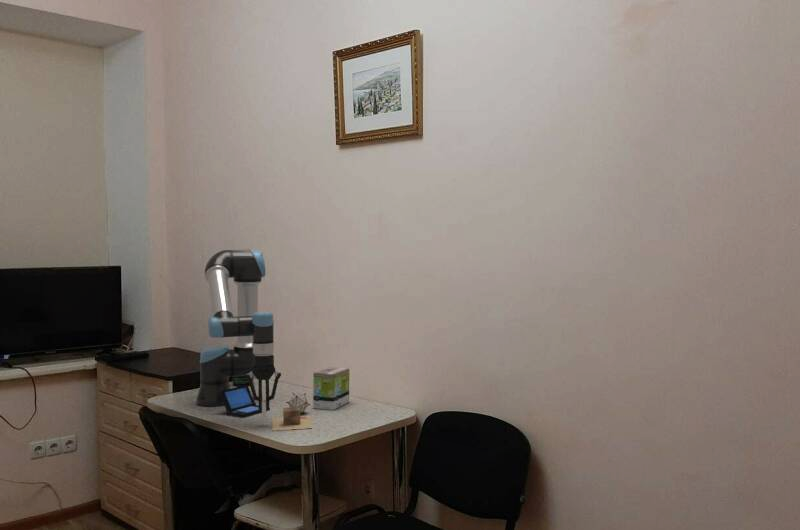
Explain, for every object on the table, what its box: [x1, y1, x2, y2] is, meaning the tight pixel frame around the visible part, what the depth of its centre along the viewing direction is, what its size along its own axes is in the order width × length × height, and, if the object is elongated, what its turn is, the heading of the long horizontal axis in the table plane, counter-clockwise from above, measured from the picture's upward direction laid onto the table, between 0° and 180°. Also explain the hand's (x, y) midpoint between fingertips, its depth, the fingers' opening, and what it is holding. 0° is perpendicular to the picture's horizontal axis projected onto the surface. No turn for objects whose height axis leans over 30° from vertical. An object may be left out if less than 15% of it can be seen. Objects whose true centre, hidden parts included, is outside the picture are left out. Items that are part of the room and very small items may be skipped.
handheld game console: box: [220, 385, 271, 418], centre depth 261 cm, size 16×13×9 cm
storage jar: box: [232, 376, 254, 388], centre depth 315 cm, size 10×10×15 cm
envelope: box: [271, 415, 313, 432], centre depth 242 cm, size 14×18×1 cm
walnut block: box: [282, 406, 301, 425], centre depth 242 cm, size 6×6×5 cm
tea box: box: [312, 366, 350, 411], centre depth 271 cm, size 15×10×15 cm, turn 161°
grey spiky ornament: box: [285, 392, 311, 415], centre depth 257 cm, size 9×8×10 cm
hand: (264, 418), depth 240 cm, fingers closed
